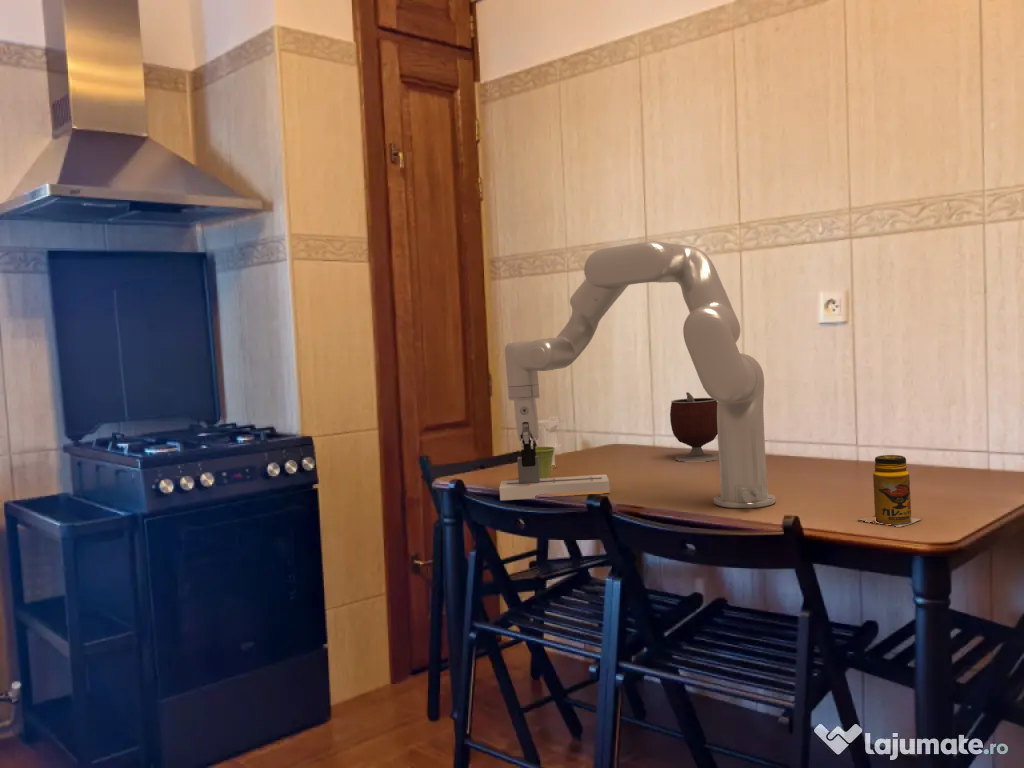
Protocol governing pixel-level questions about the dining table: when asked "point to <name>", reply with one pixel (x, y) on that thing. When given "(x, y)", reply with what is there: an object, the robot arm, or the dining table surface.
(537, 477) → the fader
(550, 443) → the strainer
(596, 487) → the console
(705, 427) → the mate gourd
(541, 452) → the plant pot
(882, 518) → the condiment
